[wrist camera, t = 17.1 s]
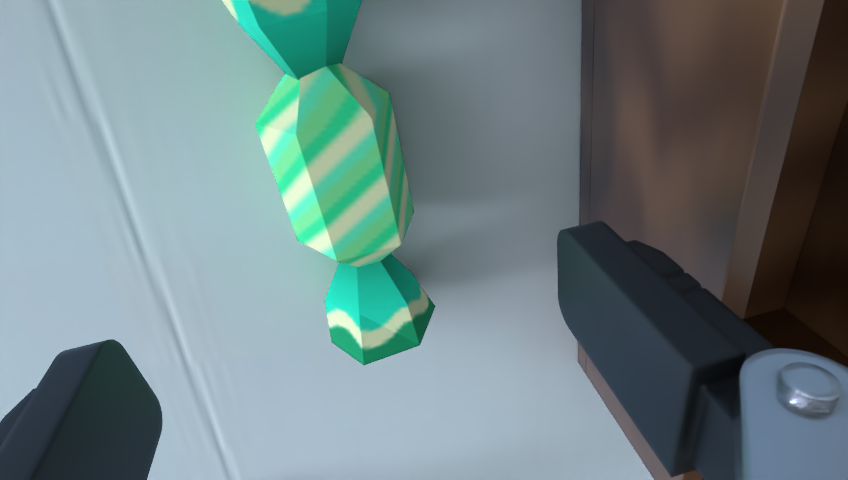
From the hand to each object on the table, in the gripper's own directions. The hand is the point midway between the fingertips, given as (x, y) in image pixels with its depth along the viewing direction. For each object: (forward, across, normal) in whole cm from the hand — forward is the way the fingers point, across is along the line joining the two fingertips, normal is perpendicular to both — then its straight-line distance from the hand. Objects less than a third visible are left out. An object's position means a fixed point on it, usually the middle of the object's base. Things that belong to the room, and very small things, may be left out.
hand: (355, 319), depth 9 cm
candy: (+8, 0, 0) cm, 8 cm away
